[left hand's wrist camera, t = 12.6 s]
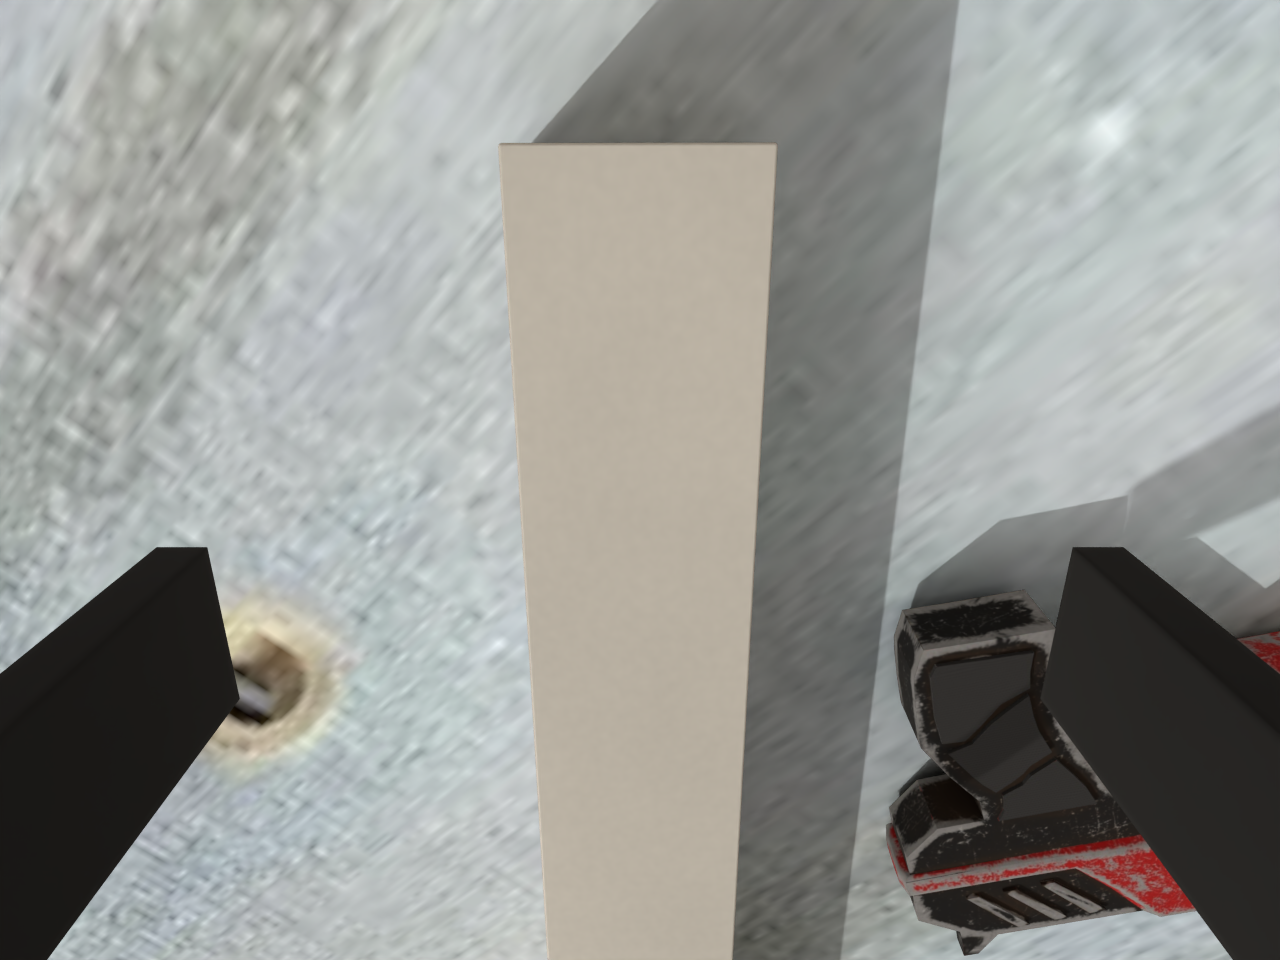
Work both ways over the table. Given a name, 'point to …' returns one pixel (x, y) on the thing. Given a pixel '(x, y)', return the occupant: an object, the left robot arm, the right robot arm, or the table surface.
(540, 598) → the wide beam
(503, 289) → the table surface
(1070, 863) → the gun
